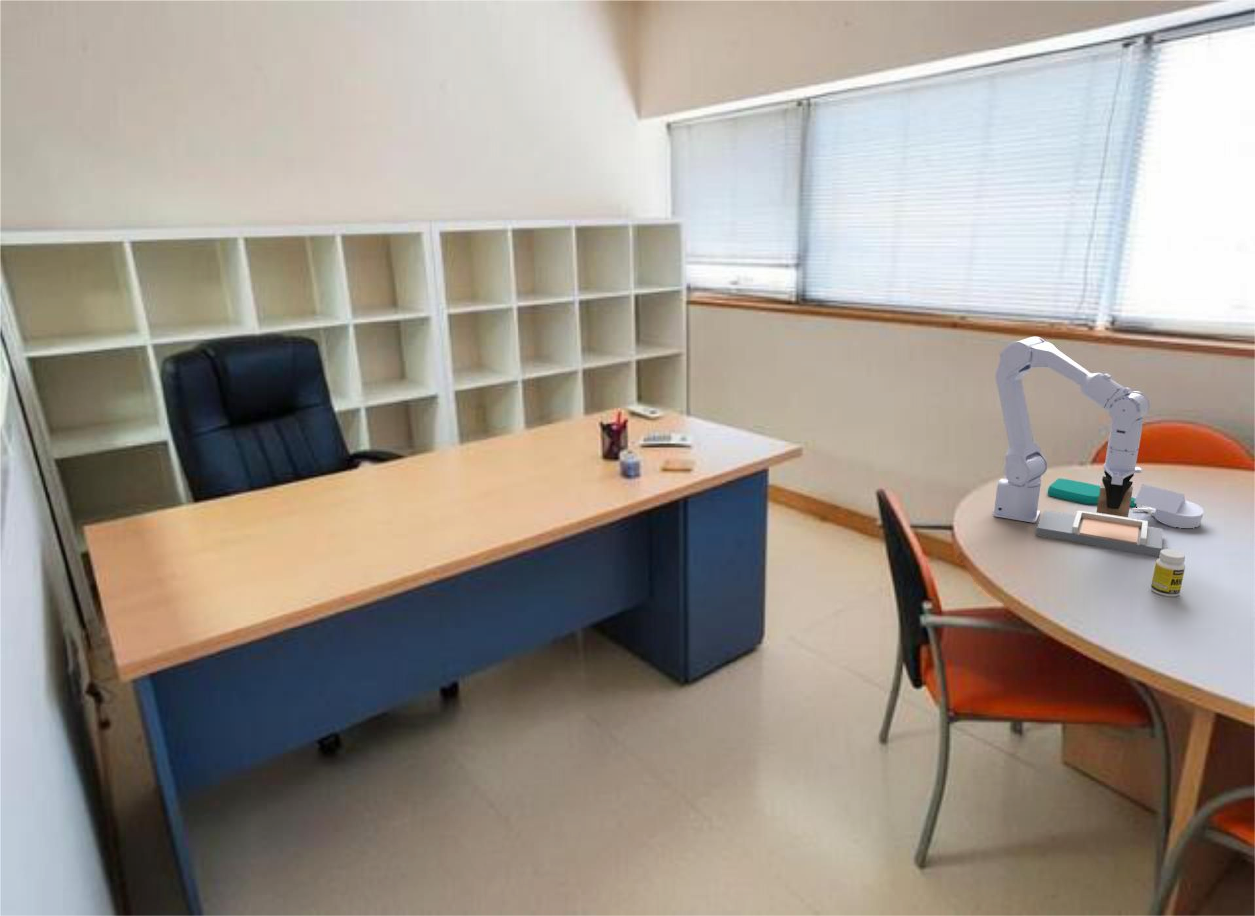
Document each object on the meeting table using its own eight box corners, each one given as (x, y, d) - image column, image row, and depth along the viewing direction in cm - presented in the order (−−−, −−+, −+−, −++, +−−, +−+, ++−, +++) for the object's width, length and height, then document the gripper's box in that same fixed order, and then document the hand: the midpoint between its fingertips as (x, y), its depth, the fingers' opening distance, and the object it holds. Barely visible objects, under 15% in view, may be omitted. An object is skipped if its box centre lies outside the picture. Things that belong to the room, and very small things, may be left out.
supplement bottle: (1170, 599, 145) (1178, 560, 142) (1145, 589, 149) (1152, 551, 146) (1184, 593, 147) (1192, 554, 144) (1159, 583, 151) (1166, 545, 148)
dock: (1036, 535, 175) (1037, 521, 174) (1043, 517, 184) (1044, 504, 183) (1160, 557, 162) (1163, 542, 161) (1161, 536, 171) (1163, 522, 170)
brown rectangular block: (1096, 512, 169) (1100, 487, 167) (1097, 506, 172) (1101, 482, 170) (1127, 517, 166) (1132, 492, 164) (1128, 511, 169) (1133, 486, 167)
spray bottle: (1057, 486, 205) (1163, 508, 188) (1043, 498, 197) (1153, 522, 181) (1058, 476, 204) (1166, 497, 187) (1045, 487, 196) (1155, 511, 180)
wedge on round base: (1130, 515, 181) (1195, 532, 172) (1137, 490, 178) (1202, 507, 170) (1140, 501, 187) (1203, 518, 178) (1147, 477, 184) (1211, 493, 175)
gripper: (1143, 459, 156) (1133, 519, 161) (1145, 441, 167) (1136, 497, 172) (1104, 455, 160) (1095, 513, 164) (1108, 437, 171) (1100, 492, 176)
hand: (1113, 504), depth 168 cm, fingers closed on brown rectangular block, 4 cm apart
